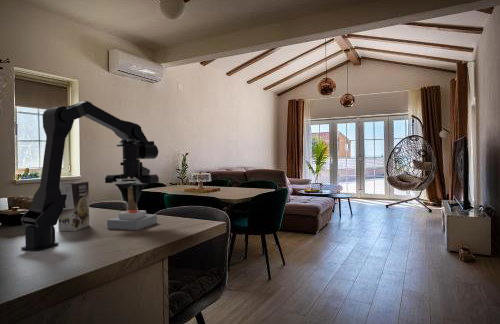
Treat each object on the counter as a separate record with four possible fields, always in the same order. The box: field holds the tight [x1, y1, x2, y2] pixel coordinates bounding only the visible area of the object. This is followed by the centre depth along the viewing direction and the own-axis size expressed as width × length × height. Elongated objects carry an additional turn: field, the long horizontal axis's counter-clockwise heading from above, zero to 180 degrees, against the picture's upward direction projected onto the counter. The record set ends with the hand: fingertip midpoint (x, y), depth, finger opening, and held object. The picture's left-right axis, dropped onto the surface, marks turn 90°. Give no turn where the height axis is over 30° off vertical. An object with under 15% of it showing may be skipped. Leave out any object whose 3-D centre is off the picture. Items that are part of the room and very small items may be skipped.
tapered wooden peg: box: [127, 186, 138, 211], centre depth 116 cm, size 3×3×8 cm
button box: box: [106, 209, 158, 231], centre depth 117 cm, size 12×12×5 cm
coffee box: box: [57, 181, 91, 232], centre depth 114 cm, size 9×6×16 cm
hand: (132, 202), depth 116 cm, fingers closed on tapered wooden peg, 3 cm apart
